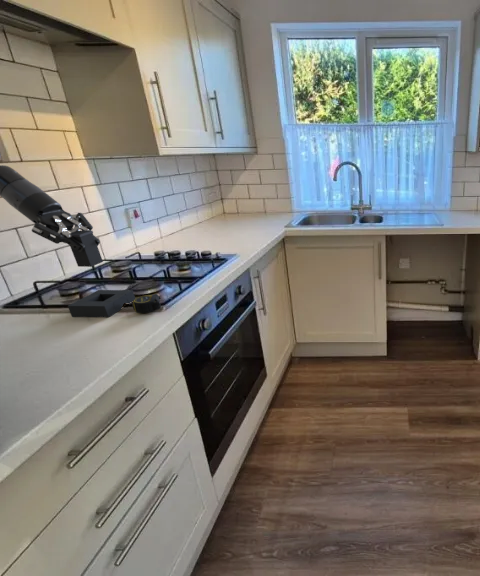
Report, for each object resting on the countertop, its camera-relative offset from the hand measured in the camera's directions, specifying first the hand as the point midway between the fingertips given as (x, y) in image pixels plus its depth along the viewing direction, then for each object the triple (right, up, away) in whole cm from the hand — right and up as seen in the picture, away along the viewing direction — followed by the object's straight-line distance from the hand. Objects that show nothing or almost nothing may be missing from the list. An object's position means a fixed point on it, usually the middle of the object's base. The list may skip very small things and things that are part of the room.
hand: (90, 246), depth 98 cm
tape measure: (+12, -18, +7) cm, 23 cm away
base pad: (-3, -17, +9) cm, 19 cm away
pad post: (-2, -5, +2) cm, 5 cm away
